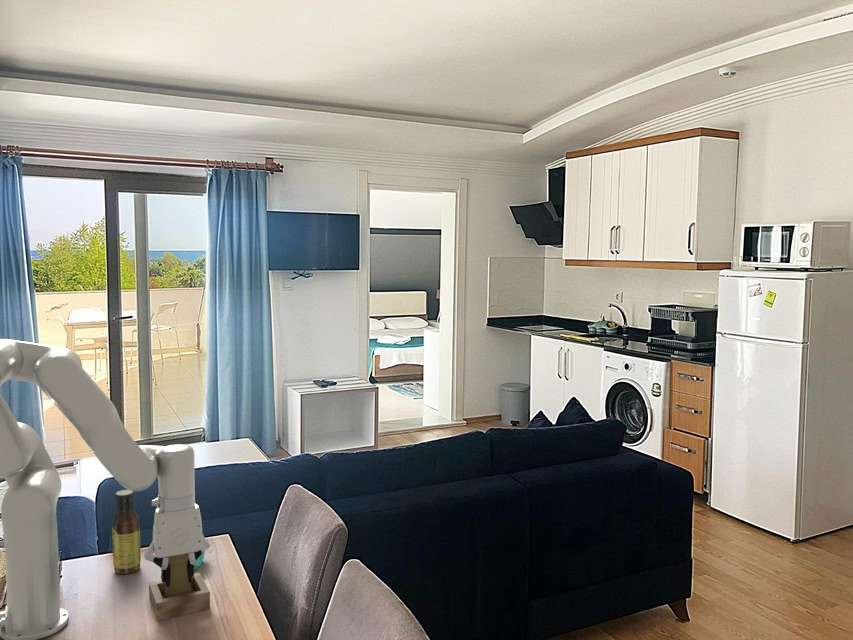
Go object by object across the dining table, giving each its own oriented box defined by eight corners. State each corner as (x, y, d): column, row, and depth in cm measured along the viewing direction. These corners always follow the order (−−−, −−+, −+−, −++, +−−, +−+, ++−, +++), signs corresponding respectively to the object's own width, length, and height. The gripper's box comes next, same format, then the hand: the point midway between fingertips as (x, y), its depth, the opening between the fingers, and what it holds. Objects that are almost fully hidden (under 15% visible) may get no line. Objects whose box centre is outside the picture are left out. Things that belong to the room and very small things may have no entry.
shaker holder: (156, 620, 147) (156, 603, 147) (149, 599, 157) (148, 582, 156) (210, 608, 153) (209, 591, 152) (199, 588, 162) (199, 572, 162)
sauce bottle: (121, 564, 175) (119, 486, 173) (145, 564, 175) (143, 487, 173) (108, 575, 168) (106, 495, 167) (133, 576, 168) (131, 496, 167)
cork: (183, 603, 151) (182, 554, 150) (157, 600, 152) (157, 551, 151) (197, 591, 157) (197, 543, 156) (173, 588, 158) (172, 541, 157)
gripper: (138, 513, 145) (139, 597, 147) (219, 500, 154) (220, 581, 155) (133, 502, 152) (135, 583, 153) (211, 491, 160) (212, 568, 162)
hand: (177, 581), depth 154 cm, fingers closed on cork, 3 cm apart
